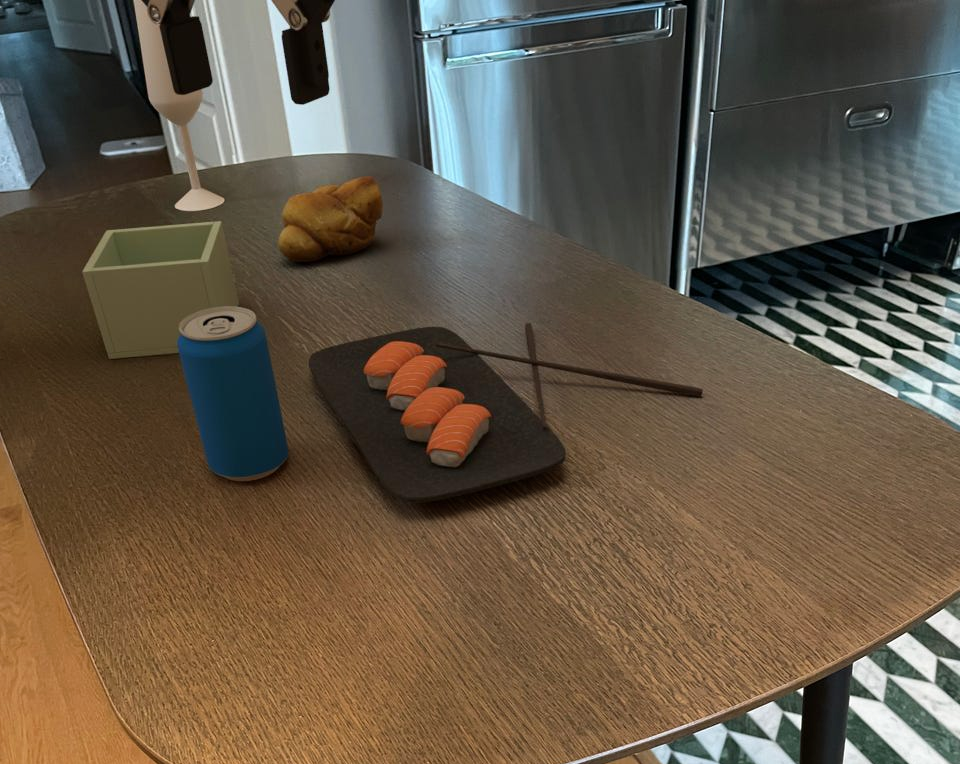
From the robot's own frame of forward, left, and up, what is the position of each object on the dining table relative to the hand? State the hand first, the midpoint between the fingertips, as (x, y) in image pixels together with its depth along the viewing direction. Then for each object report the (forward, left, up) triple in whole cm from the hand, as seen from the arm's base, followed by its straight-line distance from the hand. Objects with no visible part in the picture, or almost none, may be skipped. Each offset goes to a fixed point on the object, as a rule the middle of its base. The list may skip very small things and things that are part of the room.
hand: (251, 94), depth 65 cm
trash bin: (-15, +28, -26) cm, 41 cm away
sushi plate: (+17, +6, -26) cm, 32 cm away
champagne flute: (-18, +71, -26) cm, 78 cm away
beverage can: (-5, -1, -26) cm, 27 cm away
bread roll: (0, +48, -26) cm, 55 cm away
